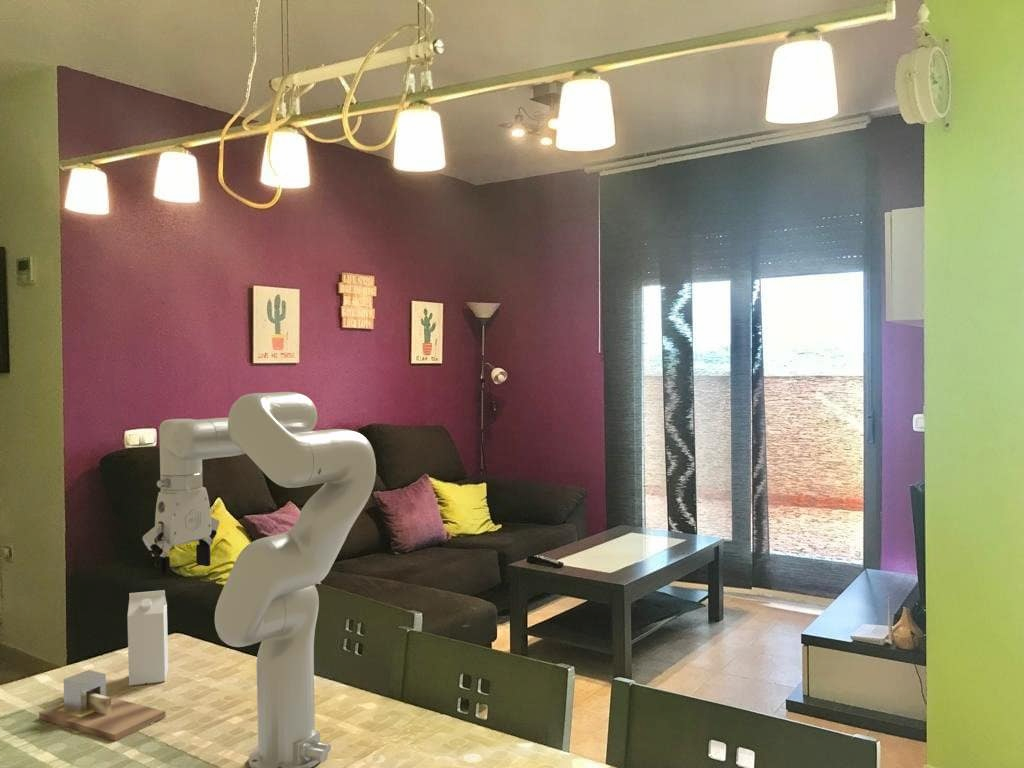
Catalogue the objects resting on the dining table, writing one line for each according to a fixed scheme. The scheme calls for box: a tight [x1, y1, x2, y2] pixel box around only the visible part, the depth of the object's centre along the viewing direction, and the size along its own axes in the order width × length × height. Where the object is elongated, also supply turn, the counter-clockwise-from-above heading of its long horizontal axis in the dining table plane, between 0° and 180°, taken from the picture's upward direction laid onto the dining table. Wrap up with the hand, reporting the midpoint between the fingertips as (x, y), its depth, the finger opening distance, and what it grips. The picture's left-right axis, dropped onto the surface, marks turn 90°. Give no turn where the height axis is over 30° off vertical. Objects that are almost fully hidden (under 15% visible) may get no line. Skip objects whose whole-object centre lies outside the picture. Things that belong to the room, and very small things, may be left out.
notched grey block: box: [63, 669, 107, 714], centre depth 161 cm, size 5×5×6 cm
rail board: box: [38, 691, 167, 742], centre depth 159 cm, size 22×11×4 cm, turn 63°
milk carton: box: [126, 589, 169, 686], centre depth 179 cm, size 7×7×19 cm
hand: (183, 570), depth 159 cm, fingers open, 9 cm apart
